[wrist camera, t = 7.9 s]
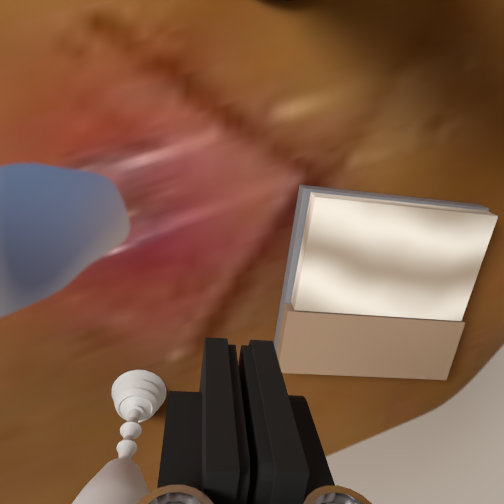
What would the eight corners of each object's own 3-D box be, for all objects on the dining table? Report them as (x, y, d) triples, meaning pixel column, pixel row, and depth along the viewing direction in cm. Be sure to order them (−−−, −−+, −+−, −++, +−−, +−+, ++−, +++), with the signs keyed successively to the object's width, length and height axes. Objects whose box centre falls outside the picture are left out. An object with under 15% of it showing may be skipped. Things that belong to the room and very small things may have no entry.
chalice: (108, 353, 38) (33, 555, 21) (183, 366, 39) (168, 567, 23) (95, 418, 40) (17, 648, 23) (166, 428, 42) (141, 654, 25)
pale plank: (310, 192, 33) (315, 196, 32) (486, 210, 35) (498, 216, 34) (290, 301, 36) (294, 310, 35) (452, 312, 38) (461, 321, 37)
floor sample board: (299, 184, 35) (308, 192, 32) (478, 204, 37) (501, 212, 34) (272, 353, 40) (277, 372, 37) (430, 361, 42) (446, 380, 39)
